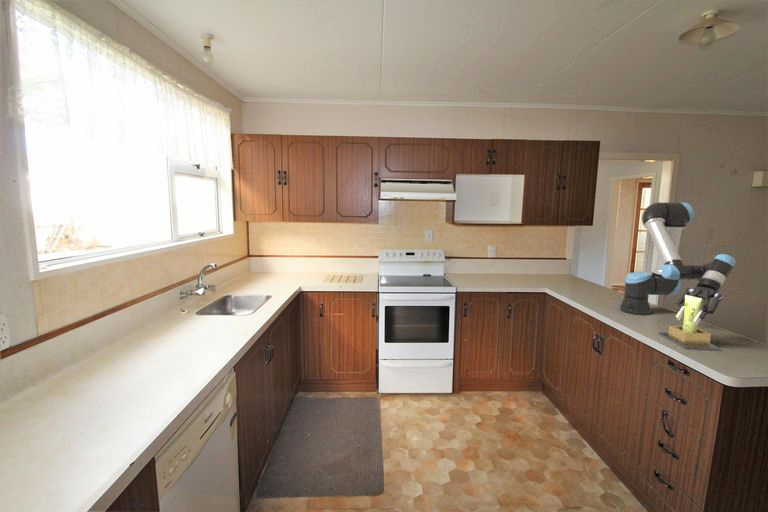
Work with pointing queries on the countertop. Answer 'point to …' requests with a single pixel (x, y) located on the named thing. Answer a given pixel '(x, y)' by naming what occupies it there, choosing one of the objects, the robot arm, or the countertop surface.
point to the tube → (691, 313)
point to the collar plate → (690, 339)
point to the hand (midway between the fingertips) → (686, 320)
